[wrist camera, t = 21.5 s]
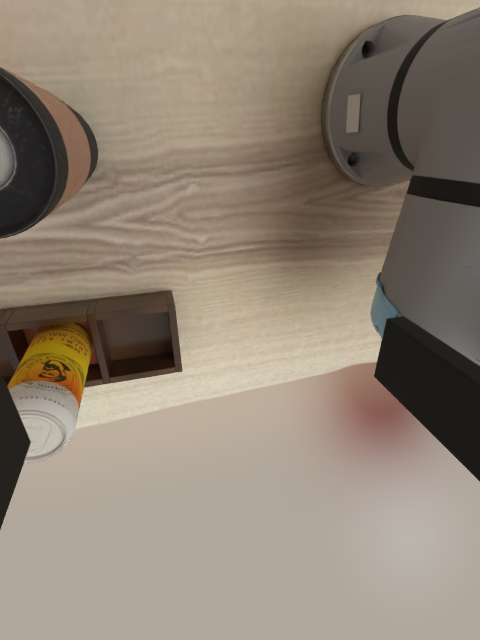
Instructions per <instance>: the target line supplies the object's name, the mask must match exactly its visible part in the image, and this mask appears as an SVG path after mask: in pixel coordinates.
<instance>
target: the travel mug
mask: <svg viewBox="0 0 480 640" xmlns="http://www.w3.org/2000/svg"><path fill="white" fill-rule="evenodd" d="M97 159H98V149H97V143H96V139H95V137H94V134H93V132H92V130H91V129H90V127H89V125H88V124H87V123H86V121H85V120H84V119H83V118H82V117H81V116H80V115H79V114H78V113H77V112H76V111H74V110H73V109H72V108H71V107H69V106H68V105H66V104H65V103H64V102H62V101H61V100H60V99H58V98H57V97H56V96H54V95H52V94H51V93H49V92H48V91H46V90H44V89H42V88H40V87H38V86H36V85H34V84H32V83H30V82H28V81H26V80H24V79H22V78H20V77H18V76H16V75H14V74H12V73H10V72H8V71H6V70H4V69H2V68H1V67H0V238H6V237H10V236H14V235H17V234H19V233H21V232H24V231H26V230H28V229H29V228H31V227H33V226H34V225H36V224H37V223H38V222H40V221H41V220H42V219H43V218H45V217H46V216H47V215H49V214H50V213H51V212H53V211H54V210H55V209H57V208H58V207H59V206H60V205H62V204H63V203H64V202H66V201H67V200H68V199H70V198H71V197H72V196H74V195H75V194H76V193H77V192H78V191H79V190H80V189H81V188H82V187H83V185H84V184H85V183H86V182H87V180H88V179H89V178H90V177H91V175H92V173H93V172H94V170H95V167H96V164H97Z"/></svg>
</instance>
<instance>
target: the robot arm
mask: <svg viewBox="0 0 480 640" xmlns="http://www.w3.org/2000/svg"><path fill="white" fill-rule="evenodd" d="M322 131H323V138H324V142H325V146H326V149H327V152H328V154H329V156H330V158H331V160H332V162H333V163H334V165H335V166H336V168H337V169H338V170H339V171H340V172H341V173H342V174H343V175H344V176H346V177H347V178H349V179H350V180H352V181H354V182H357V183H360V184H365V185H370V186H389V185H393V184H397V183H400V182H403V181H406V180H409V179H411V181H410V184H409V187H408V191H407V193H406V196H405V199H404V203H403V206H402V209H401V212H400V215H399V218H398V221H397V224H396V228H395V231H394V234H393V237H392V240H391V243H390V246H389V249H388V252H387V255H386V259H385V262H384V265H383V268H382V271H381V272H380V273H379V274H378V276H377V279H376V284H377V288H376V292H375V296H374V299H373V303H372V307H371V320H372V323H373V326H374V327H375V329H376V331H377V332H378V333H379V334H380V336H381V338H382V342H381V347H380V352H379V356H378V361H377V365H376V370H375V374H374V376H375V378H377V380H378V381H379V382H380V383H381V384H383V386H384V387H385V388H386V389H387V390H388V391H389V392H390V393H391V394H392V395H393V396H394V397H395V398H397V399H398V400H399V402H400V403H401V404H402V405H404V406H405V407H406V409H408V411H410V412H411V413H412V414H413V415H414V416H415V417H416V418H417V419H418V420H419V421H420V422H421V423H422V424H423V425H424V426H425V427H426V428H427V429H428V430H429V431H430V432H431V433H432V434H433V435H434V436H435V437H436V438H437V439H438V440H439V441H440V442H441V443H442V444H443V445H444V446H445V447H446V448H447V449H448V450H449V451H450V452H451V453H452V454H453V455H454V456H455V457H456V458H457V459H458V460H459V461H460V462H461V463H462V464H463V465H464V466H465V467H466V468H467V469H468V470H469V471H470V472H471V473H472V474H473V475H474V476H475V477H476V478H477V479H478V480H479V481H480V8H477V9H475V10H472V11H470V12H467V13H465V14H462V15H460V16H457V17H455V18H453V19H450V20H441V19H435V18H428V17H422V16H415V15H403V16H397V17H393V18H390V19H388V20H385V21H383V22H381V23H379V24H377V25H375V26H373V27H371V28H369V29H368V30H366V31H365V32H363V33H362V34H360V35H359V36H358V37H357V38H356V39H355V40H354V41H353V42H352V43H351V44H350V45H349V46H348V47H347V49H346V50H345V51H344V53H343V54H342V55H341V57H340V59H339V60H338V62H337V64H336V66H335V67H334V69H333V72H332V74H331V76H330V79H329V81H328V84H327V88H326V91H325V95H324V100H323V108H322ZM30 444H31V441H30V439H29V436H28V434H27V432H26V429H25V427H24V425H23V422H22V420H21V417H20V415H19V413H18V410H17V408H16V406H15V403H14V401H13V399H12V396H11V394H10V392H9V389H8V387H7V384H6V382H5V380H4V377H3V376H1V377H0V529H1V526H2V523H3V520H4V517H5V515H6V512H7V509H8V506H9V503H10V500H11V498H12V495H13V492H14V489H15V486H16V483H17V480H18V478H19V475H20V472H21V469H22V466H23V464H24V461H25V458H26V455H27V452H28V450H29V447H30Z"/></svg>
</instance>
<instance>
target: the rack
mask: <svg viewBox="0 0 480 640" xmlns="http://www.w3.org/2000/svg"><path fill="white" fill-rule="evenodd" d="M70 323H74V324H76V325H78V326H80V327H82V328H83V329H84V330H85V331H87V333H88V334H89V335H90V337H91V339H92V343H93V348H92V353H91V358H90V362H89V367H88V371H87V376H86V380H85V385H84V387H90V386H96V385H102V384H108V383H115V382H121V381H127V380H133V379H139V378H145V377H151V376H157V375H164V374H170V373H175V372H182V364H181V355H180V346H179V337H178V328H177V320H176V311H175V303H174V299H173V294H172V291H164V292H155V293H145V294H136V295H127V296H118V297H109V298H100V299H91V300H82V301H73V302H64V303H55V304H46V305H37V306H28V307H19V308H10V309H1V310H0V377H1V376H3V377H4V380H5V382H6V384H7V386H8V384H9V383H10V381H11V379H12V377H13V375H14V373H15V371H16V370H17V368H18V366H19V364H20V362H21V360H22V358H23V356H24V355H25V353H26V351H27V349H28V347H29V345H30V343H31V342H32V340H33V338H34V336H35V334H36V333H37V331H38V330H39V329H40V328H41V327H46V326H54V325H62V324H70Z"/></svg>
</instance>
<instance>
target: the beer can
mask: <svg viewBox="0 0 480 640" xmlns="http://www.w3.org/2000/svg"><path fill="white" fill-rule="evenodd" d="M92 348H93V343H92V339H91V337H90V335H89V334H88V333H87V331H85V330H84V329H83V328H82V327H80V326H78V325H76V324H74V323H70V324H62V325H54V326H46V327H41V328H40V329H39V330H38V331H37V333H36V334H35V336H34V338H33V340H32V342H31V343H30V345H29V347H28V349H27V351H26V353H25V355H24V356H23V358H22V360H21V362H20V364H19V366H18V368H17V370H16V371H15V373H14V375H13V377H12V379H11V381H10V383H9V384H8V386H7V387H8V389H9V392H10V394H11V396H12V399H13V401H14V403H15V406H16V408H17V410H18V413H19V415H20V417H21V420H22V422H23V425H24V427H25V429H26V432H27V434H28V436H29V439H30V441H31V444H30V447H29V450H28V452H27V455H26V458H25V461H24V463H34V462H40V461H44V460H47V459H49V458H51V457H53V456H55V455H56V454H58V453H59V452H60V451H61V450H62V449H63V448H64V446H65V444H67V443H68V442H69V440H70V439H71V438H72V436H73V433H74V430H75V426H76V421H77V417H78V412H79V408H80V403H81V399H82V394H83V389H84V385H85V380H86V376H87V371H88V367H89V362H90V358H91V353H92Z"/></svg>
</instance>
